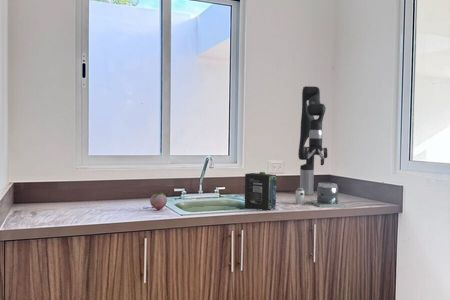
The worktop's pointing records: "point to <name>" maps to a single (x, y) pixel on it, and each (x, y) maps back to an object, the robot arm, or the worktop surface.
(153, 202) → the decorative fruit
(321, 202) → the motor
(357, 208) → the worktop surface
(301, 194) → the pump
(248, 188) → the black labelled box
